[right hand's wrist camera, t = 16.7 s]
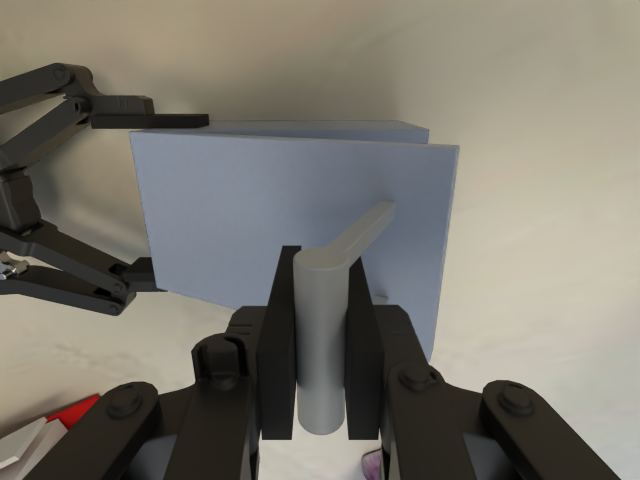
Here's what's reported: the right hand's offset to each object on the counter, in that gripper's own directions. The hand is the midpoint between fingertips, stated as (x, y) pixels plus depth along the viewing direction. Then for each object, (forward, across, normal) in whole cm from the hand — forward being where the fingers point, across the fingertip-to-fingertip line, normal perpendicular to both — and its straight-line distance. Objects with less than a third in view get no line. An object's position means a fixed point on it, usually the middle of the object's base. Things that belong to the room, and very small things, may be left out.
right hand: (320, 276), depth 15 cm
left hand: (+12, -8, 0) cm, 14 cm away
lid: (+5, -2, 0) cm, 6 cm away
